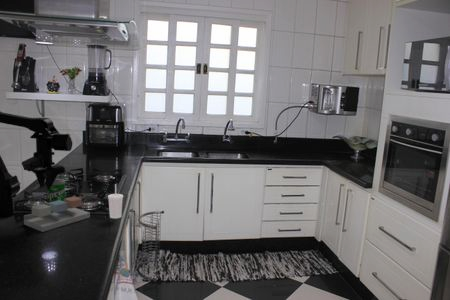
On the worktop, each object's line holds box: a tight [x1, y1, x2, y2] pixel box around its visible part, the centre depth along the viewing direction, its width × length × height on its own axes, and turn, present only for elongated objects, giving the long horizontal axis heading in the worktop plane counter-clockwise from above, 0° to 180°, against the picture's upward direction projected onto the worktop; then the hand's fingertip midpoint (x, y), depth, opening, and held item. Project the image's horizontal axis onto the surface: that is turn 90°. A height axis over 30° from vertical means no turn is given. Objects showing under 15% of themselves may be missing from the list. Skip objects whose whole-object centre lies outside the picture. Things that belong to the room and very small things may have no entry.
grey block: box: [31, 203, 51, 217], centre depth 152 cm, size 5×5×3 cm
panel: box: [23, 207, 91, 233], centre depth 159 cm, size 12×21×4 cm, turn 147°
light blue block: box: [48, 200, 67, 213], centre depth 158 cm, size 5×5×3 cm
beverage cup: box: [107, 183, 124, 219], centre depth 166 cm, size 6×6×14 cm
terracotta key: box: [64, 196, 83, 208], centre depth 164 cm, size 5×5×3 cm
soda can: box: [46, 177, 67, 203], centre depth 176 cm, size 8×8×12 cm
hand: (45, 187), depth 161 cm, fingers open, 5 cm apart
